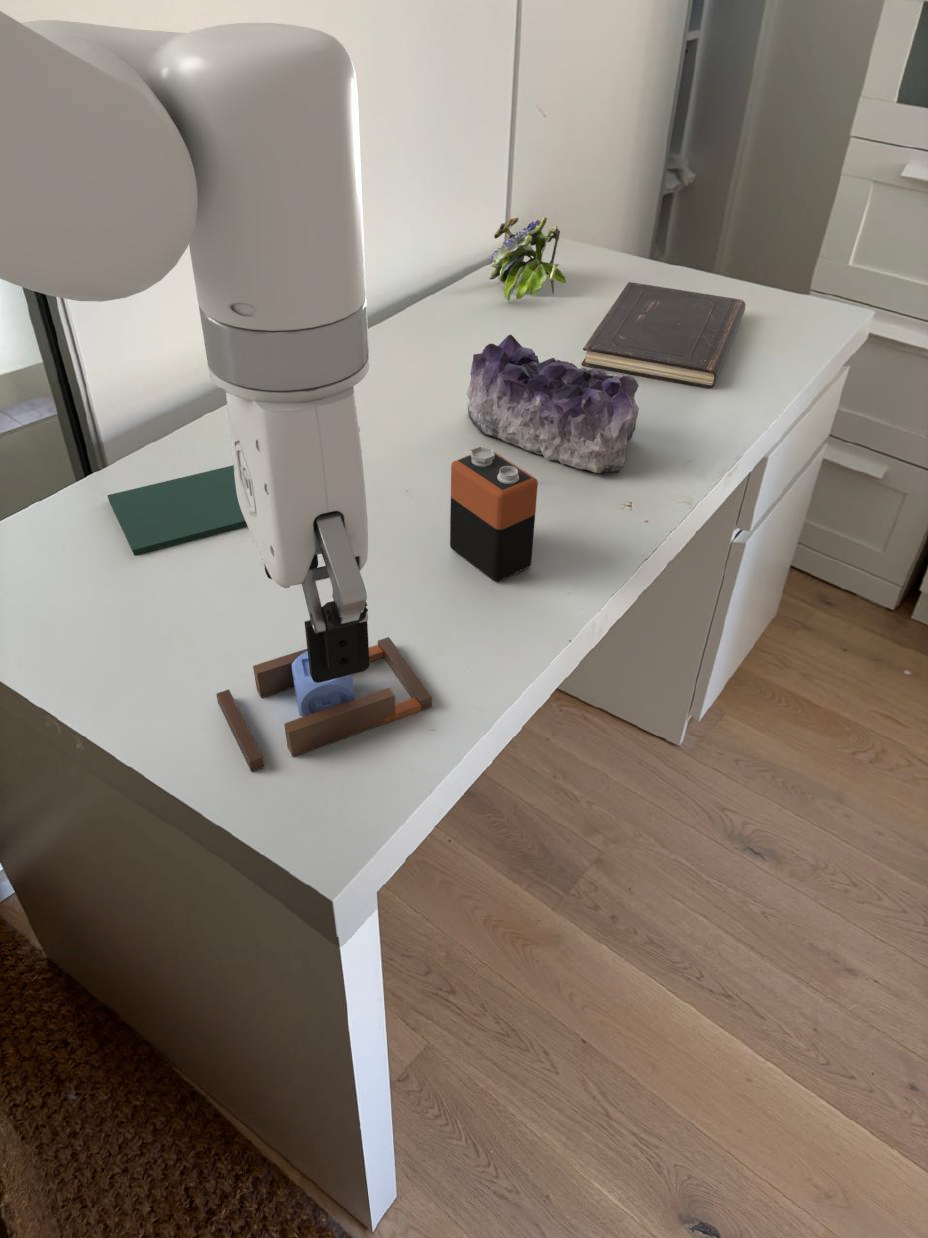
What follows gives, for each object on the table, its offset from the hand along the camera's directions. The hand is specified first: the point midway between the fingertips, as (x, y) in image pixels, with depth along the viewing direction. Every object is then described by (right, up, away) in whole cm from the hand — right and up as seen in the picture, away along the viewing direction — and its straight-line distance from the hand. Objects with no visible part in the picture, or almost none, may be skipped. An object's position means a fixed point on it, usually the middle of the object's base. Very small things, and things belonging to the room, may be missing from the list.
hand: (314, 619), depth 56 cm
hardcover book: (+34, +35, +67) cm, 84 cm away
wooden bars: (-2, -6, +16) cm, 17 cm away
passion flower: (+18, +46, +80) cm, 94 cm away
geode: (+17, +19, +47) cm, 54 cm away
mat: (-16, +11, +36) cm, 41 cm away
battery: (+11, +5, +31) cm, 33 cm away
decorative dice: (-2, -6, +16) cm, 17 cm away
